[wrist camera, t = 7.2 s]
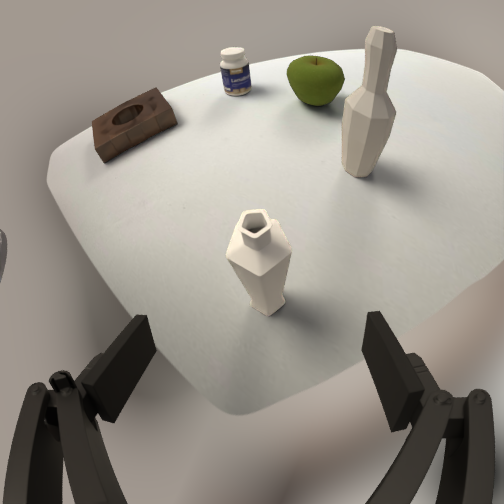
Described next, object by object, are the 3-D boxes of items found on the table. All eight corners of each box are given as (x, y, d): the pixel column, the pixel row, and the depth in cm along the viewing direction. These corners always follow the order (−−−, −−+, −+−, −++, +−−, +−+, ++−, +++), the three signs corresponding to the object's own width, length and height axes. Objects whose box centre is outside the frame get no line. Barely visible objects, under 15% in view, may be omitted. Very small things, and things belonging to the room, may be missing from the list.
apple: (280, 92, 49) (277, 50, 40) (326, 86, 50) (328, 47, 41) (299, 119, 44) (299, 71, 35) (351, 113, 44) (357, 68, 36)
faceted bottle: (359, 148, 40) (380, 21, 20) (385, 173, 37) (423, 41, 17) (328, 159, 39) (341, 20, 20) (354, 187, 36) (386, 39, 17)
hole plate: (104, 163, 45) (94, 149, 41) (98, 133, 51) (91, 121, 47) (177, 124, 47) (172, 108, 44) (161, 100, 53) (156, 87, 50)
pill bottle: (235, 99, 49) (228, 57, 41) (219, 91, 52) (211, 52, 43) (257, 89, 51) (252, 48, 42) (240, 82, 53) (234, 44, 44)
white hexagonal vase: (240, 288, 31) (207, 208, 18) (276, 274, 31) (270, 186, 18) (254, 325, 29) (228, 267, 16) (292, 310, 29) (300, 240, 16)
